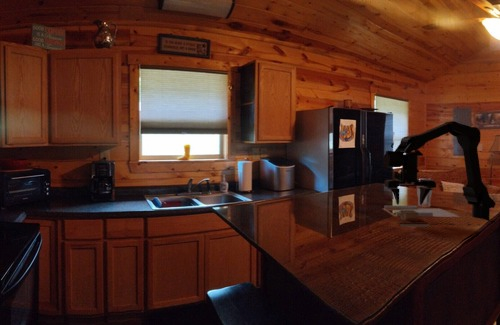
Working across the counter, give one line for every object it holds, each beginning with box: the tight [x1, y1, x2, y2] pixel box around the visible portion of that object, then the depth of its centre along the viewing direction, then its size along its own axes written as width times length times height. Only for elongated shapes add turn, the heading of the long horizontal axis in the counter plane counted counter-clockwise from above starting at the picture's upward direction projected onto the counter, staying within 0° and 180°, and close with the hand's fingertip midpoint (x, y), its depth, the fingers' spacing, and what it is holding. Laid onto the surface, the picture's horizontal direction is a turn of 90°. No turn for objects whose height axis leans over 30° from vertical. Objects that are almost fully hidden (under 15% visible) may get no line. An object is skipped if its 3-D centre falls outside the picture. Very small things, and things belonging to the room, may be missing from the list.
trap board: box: [382, 205, 461, 218], centre depth 148 cm, size 17×27×3 cm, turn 85°
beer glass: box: [416, 177, 433, 208], centre depth 162 cm, size 7×7×15 cm
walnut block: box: [400, 210, 419, 222], centre depth 135 cm, size 5×5×4 cm
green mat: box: [396, 222, 430, 227], centre depth 134 cm, size 11×11×1 cm
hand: (409, 204), depth 134 cm, fingers open, 9 cm apart
